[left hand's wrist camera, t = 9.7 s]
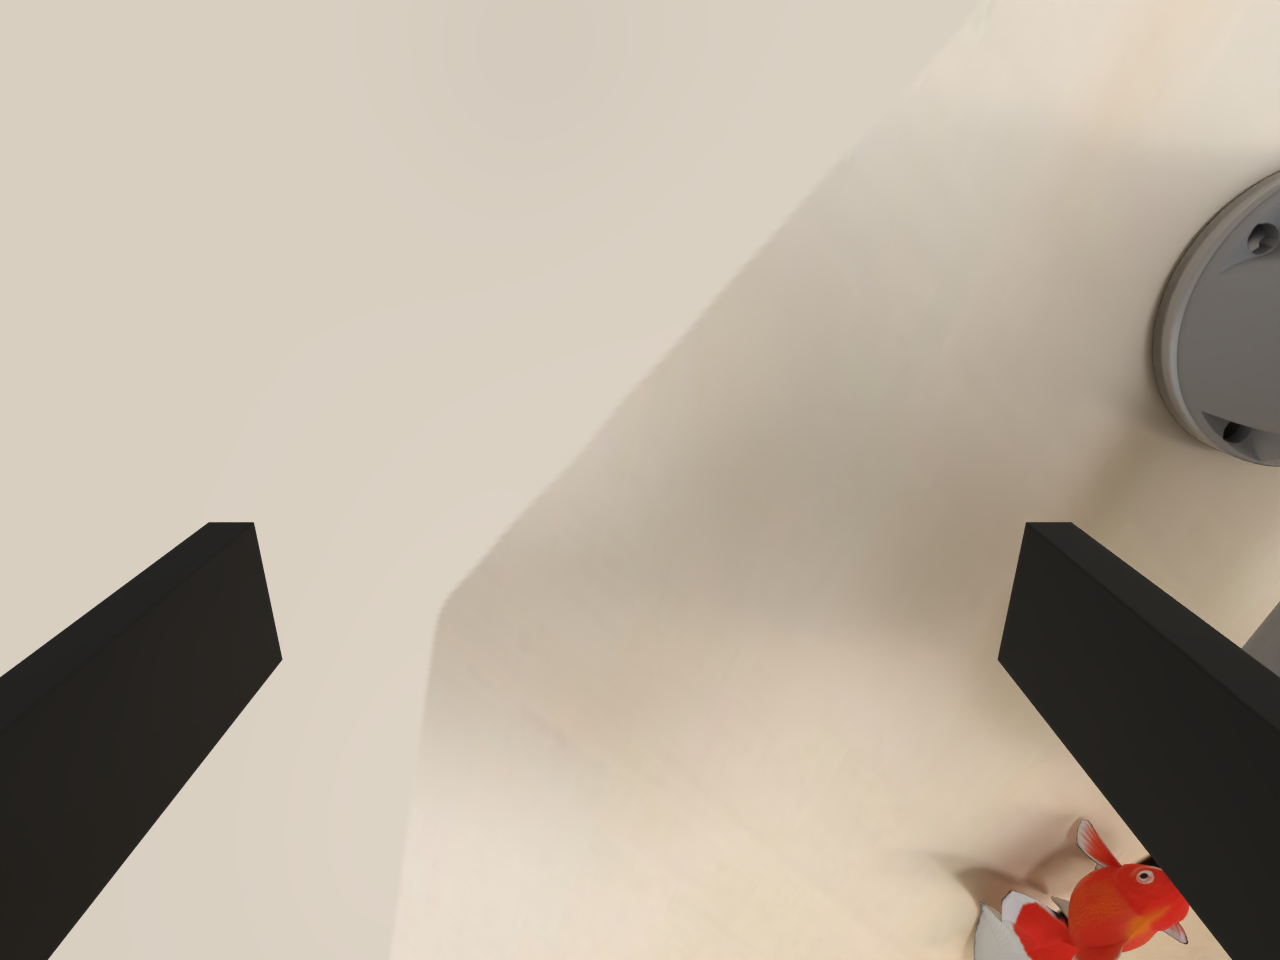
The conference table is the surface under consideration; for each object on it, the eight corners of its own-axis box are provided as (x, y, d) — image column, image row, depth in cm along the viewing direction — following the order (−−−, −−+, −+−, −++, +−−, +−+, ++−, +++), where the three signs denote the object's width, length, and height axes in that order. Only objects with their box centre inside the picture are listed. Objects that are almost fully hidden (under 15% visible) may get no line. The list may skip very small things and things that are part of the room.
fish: (1250, 942, 47) (1274, 1093, 39) (1010, 946, 56) (991, 1068, 49) (1162, 797, 47) (1169, 919, 39) (938, 826, 57) (907, 929, 49)
